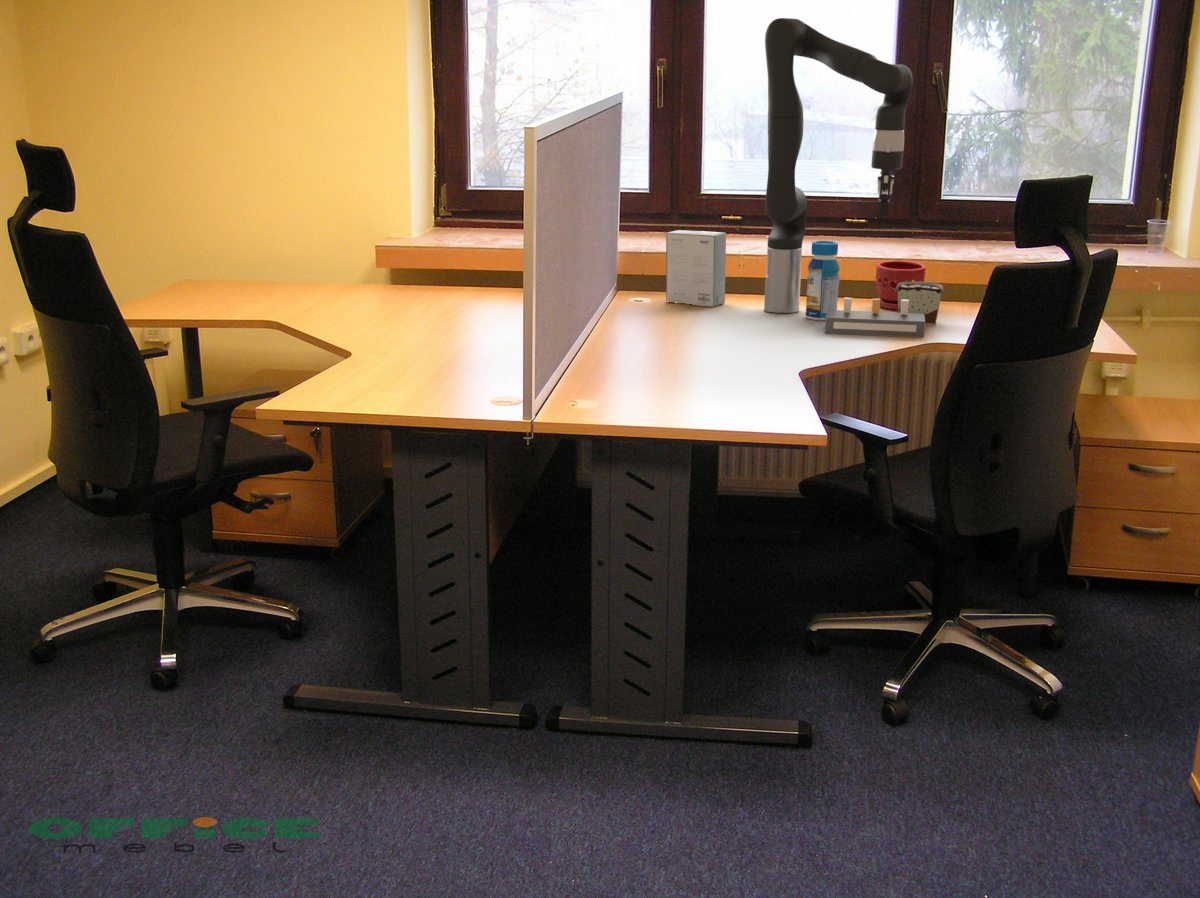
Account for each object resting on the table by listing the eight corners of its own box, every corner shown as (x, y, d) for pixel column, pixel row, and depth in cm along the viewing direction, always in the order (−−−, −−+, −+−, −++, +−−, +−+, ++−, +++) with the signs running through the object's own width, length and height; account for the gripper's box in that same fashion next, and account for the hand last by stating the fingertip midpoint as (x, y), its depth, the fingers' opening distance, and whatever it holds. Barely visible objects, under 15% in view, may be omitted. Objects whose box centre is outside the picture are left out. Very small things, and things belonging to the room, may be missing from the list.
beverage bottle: (835, 321, 306) (839, 245, 299) (802, 320, 308) (806, 244, 302) (838, 315, 313) (843, 240, 307) (807, 314, 316) (810, 239, 309)
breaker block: (824, 333, 292) (825, 317, 291) (826, 325, 302) (827, 309, 301) (923, 337, 287) (925, 321, 286) (922, 329, 296) (924, 313, 295)
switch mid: (871, 313, 295) (872, 299, 293) (871, 312, 296) (872, 298, 295) (879, 313, 294) (880, 299, 293) (879, 312, 295) (880, 298, 294)
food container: (943, 320, 307) (946, 282, 304) (941, 325, 301) (944, 286, 298) (895, 317, 311) (897, 280, 308) (892, 322, 305) (895, 284, 302)
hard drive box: (725, 303, 331) (727, 232, 324) (713, 308, 324) (715, 235, 318) (677, 298, 339) (678, 228, 332) (664, 302, 332) (665, 232, 326)
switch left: (843, 312, 296) (844, 298, 295) (843, 311, 297) (844, 297, 296) (850, 312, 296) (851, 298, 295) (850, 311, 297) (851, 297, 296)
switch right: (900, 314, 293) (901, 300, 292) (900, 313, 294) (901, 299, 293) (907, 314, 293) (908, 300, 292) (907, 313, 294) (908, 299, 293)
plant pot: (864, 307, 324) (867, 264, 321) (892, 301, 332) (895, 258, 329) (904, 314, 315) (907, 269, 311) (931, 307, 323) (935, 264, 319)
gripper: (872, 146, 297) (867, 211, 302) (872, 150, 284) (867, 218, 289) (903, 147, 296) (897, 212, 301) (904, 151, 282) (898, 218, 287)
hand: (882, 214), depth 295 cm, fingers open, 8 cm apart
